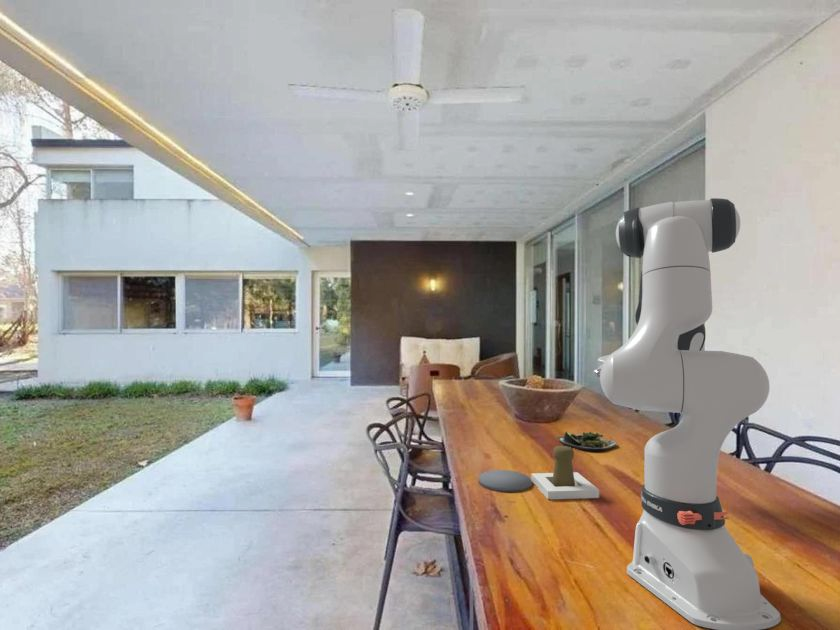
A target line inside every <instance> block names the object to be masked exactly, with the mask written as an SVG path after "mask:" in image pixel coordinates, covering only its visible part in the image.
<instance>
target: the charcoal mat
mask: <svg viewBox="0 0 840 630" xmlns="http://www.w3.org/2000/svg"><path fill="white" fill-rule="evenodd" d="M478 483H479V485H480V486H482V487H483V488H485V489H487V490H491V491H495V492H499V493H501V492H503V493H516V491H518V492H523V491H526V490H527V489H530V488H531V487H532V481H531V476H528V475H527V474H524V473H522V472H519V471H513V470H505V469H493V470H488V471H487V470H486V471H484V472H482V473H480V474H479V475H478ZM530 486H531V487H530ZM529 487H530V488H529ZM522 490H523V491H522ZM514 491H515V492H514Z"/></svg>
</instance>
